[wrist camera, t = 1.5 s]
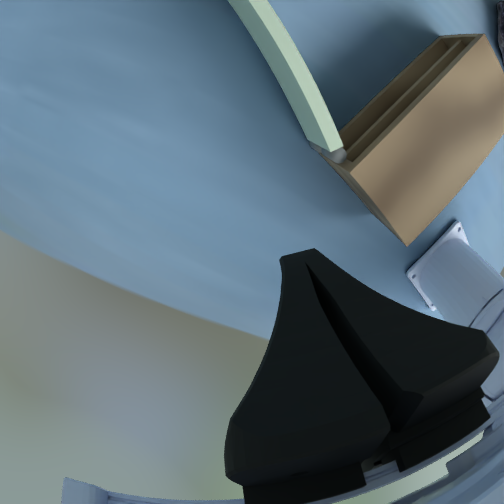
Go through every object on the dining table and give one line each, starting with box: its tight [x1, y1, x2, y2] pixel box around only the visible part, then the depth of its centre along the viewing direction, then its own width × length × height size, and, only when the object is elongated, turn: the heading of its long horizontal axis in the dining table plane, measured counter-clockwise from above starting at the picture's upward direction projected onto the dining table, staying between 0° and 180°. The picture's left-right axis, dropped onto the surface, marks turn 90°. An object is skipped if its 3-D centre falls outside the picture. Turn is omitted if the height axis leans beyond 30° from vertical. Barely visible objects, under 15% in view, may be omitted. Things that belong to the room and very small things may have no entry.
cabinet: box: [318, 34, 504, 247], centre depth 14 cm, size 7×16×5 cm, turn 138°
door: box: [228, 0, 347, 163], centre depth 12 cm, size 2×16×4 cm, turn 28°
